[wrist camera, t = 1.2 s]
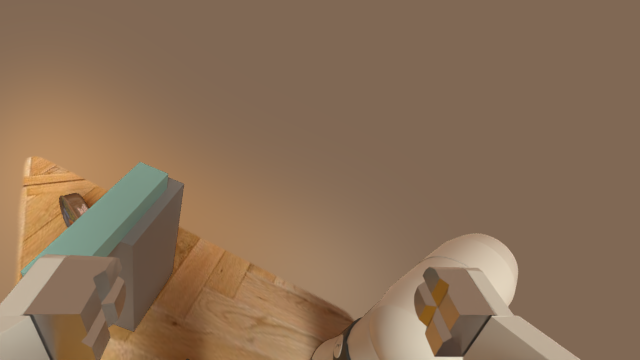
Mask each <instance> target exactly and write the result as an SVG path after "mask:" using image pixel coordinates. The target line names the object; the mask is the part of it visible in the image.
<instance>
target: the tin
mask: <svg viewBox="0 0 640 360" xmlns="http://www.w3.org/2000/svg"><path fill="white" fill-rule="evenodd" d="M59 203H60V208H61V212H62V215H63V218H64V221H65V223H66V225H67V227H68V228H69V227H70V226H71V225H72V224H73V223H74V222H75V221H76V220H77V219H78V218H79V217H81V216H82V215H83V214H84V213H85V212H86V211H87V210H88V209H89V207H88V205H87V204H86V202H85V201H84V199H83V198H82V197H81V196H80V195H79V194H77V193H73V194H69V195H65V196H60V198H59Z"/></svg>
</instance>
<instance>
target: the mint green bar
mask: <svg viewBox="0 0 640 360" xmlns="http://www.w3.org/2000/svg"><path fill="white" fill-rule="evenodd" d="M167 182H168V174H167V173H165V172H163V171H160V170H158V169H156V168H153V167H151V166H148V165H146V164H143V163H141V162H140V163H138V164H137V165H136V166H135V167H134V168H133V169H132V170H131V171H130V172H129V173H128V174H126V175H125V176H124V177H123V178H122V179H121V180H120V181H119V182H118V183H117V184H115V186H113V187H112V188H111V189H110V190H109V191H108V192H107V193H106V194H105V195H103V196H102V197H101V198H100V199H99V200H98V201H97V202H96V203H95V204H94V205H93V206H91V207H90V208H89V209H88V210H87V211H86V212H85V213H84V214H83V215H82V216H81V217H79V218H78V219H77V220H76V221H75V222H74V223H73V224H72V225H71V226H70V227H69V228H67V229H66V230H65V231H64V232H63V233H62V234H61V235H60V236H59V237H58V238H57V239H55V240H54V241H53V242H52V243H51V244H50V245H49V246H48V247H47V248H46V249H44V250H43V251H42V252H41V253H40V254H39V255H38V256H37V257H36V258H35V259H34V260H32V261H31V262H30V263H29V264H28V265H27V266H26V267H25V268H24V269H23V270H22V271H21V274H22V276H24V275H25V274H26V273H27V272H28V270H29V269H30V268H31V267H32V266H33V264H34V263H35V262H36V261H37V260H38V259H39V258H40V257H42V256H44V255H46V254H54V255H80V256H99V257H107V256H108V255H109V254H110V252H111V251H112V250H113V249H114V248H115V247H116V246H117V244H118V243H119V242H120V241H121V240H122V239H123V238H124V237H125V235H126V234H127V233H128V232H129V231H130V230H131V229H132V227H133V226H134V225H135V224H136V223H137V222H138V221H139V220H140V218H141V217H142V216H143V215H144V214H145V213H146V212H147V210H148V209H149V208H150V207H151V206H152V205H153V204H154V203H155V201H156V200H157V199H158V198H159V197H160V196H161V195H162V193H163V192H164V191H165V190H166V189H167Z"/></svg>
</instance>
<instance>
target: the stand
mask: <svg viewBox="0 0 640 360" xmlns="http://www.w3.org/2000/svg"><path fill="white" fill-rule="evenodd" d="M183 188H184V184H183V183H181V182H178V181H176V180H173V179H171V178H169V177H168V182H167V189H166V190H165V191H164V192H163V193H162V195H161V196H160V197H159V198H158V199H157V200H156V201H155V203H154V204H153V205H152V206H151V207H150V208H149V209H148V210H147V212H146V213H145V214H144V215H143V216H142V217H141V218H140V220H139V221H138V222H137V223H136V224H135V225H134V226H133V227H132V229H131V230H130V231H129V232H128V233H127V234H126V235H125V237H124V238H123V239H122V240H121V241H120V242H119V243H118V244H117V246H116V247H115V248H114V249H113V250H112V251H111V252H110V254H109V255H108V256H107V257H116V258H119V259H120V263H121V266H122V269H121V271H120V273H119V275H118V276H119V277H120V278H122V279H123V280H124V281H125V285H126V298H125V303H124V307H123V310H122V312H121V315H120V317H119V319H118V320H117V321H116V322H115V323H114V325H117V326H120V327H122V328H125V329H128V330H131V331H133V332H134V331H135V329H136V328H137V326H138V325H139V323H140V322H141V320H142V319H143V317H144V316H145V314H146V313H147V311H148V309H149V308H150V306H151V305H152V303H153V302H154V300H155V299H156V297H157V296H158V294H159V293H160V291H161V290H162V288H163V286H164V285H165V283H166V282H167V280H168V279H169V277H170V276H171V274H172V271H173V263H174V256H175V248H176V241H177V233H178V226H179V218H180V211H181V204H182V196H183Z"/></svg>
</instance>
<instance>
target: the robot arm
mask: <svg viewBox="0 0 640 360" xmlns="http://www.w3.org/2000/svg"><path fill="white" fill-rule="evenodd" d="M121 269H122V266H121V263H120V259H119V258H116V257H99V256H80V255H54V254H46V255H44V256H42V257H40V258H39V259H38V260H37V261H36V262H35V263H34V264H33V266H32V267H31V268H30V269H29V270H28V272H27V273H26V274H25V275H24V276H23V278H22V279H21V280H20V281H19V282H18V283H17V285H16V286H15V287H14V288H13V289H12V291H11V292H10V293H9V295H7V297H6V298H5V299H4V300H3V301H2V303H1V304H0V360H100V359H101V356H102V354H103V352H104V350H105V348H106V346H107V343H108V341H109V339H110V334H109V330H108V327H110V326H111V325H112V324H114V323H115V322H116V321H117V320H118V319H119V317H120V315H121V312H122V310H123V307H124V303H125V298H126V285H125V281H124V280H123V279H122V278H120V277H119V276H118V275H119V273H120V271H121ZM517 277H518V267H517V263H516V260H515V258H514V256H513V255H512V253H511V252H510V251H509V249H508V248H507V247H506V246H505V245H504V244H503V243H501V242H500V241H498V240H497V239H495V238H493V237H490V236H488V235H484V234H478V233H477V234H476V233H474V234H467V235H464V236H460V237H457V238H454V239H452V240H449V241H447V242H445V243H444V244H443V245H441V246H440V247H439V248H437V249H436V250H435V251H433V252H432V253H431V254H430V255H428V256H427V257H426V258H424V259H423V260H422V261H421V262H419V263H418V264H417V266H416V267H414V268H413V269H412V270H411V271H409V272H408V273H407V274H406V275H404V276H403V277H402V278H401V279H399V280H398V281H397V282H396V283H394V284H393V285H392V286H391V287H390V288H389V289H388V291H387V292H386V293H385V295H384V296H383V298H382V299H381V300H380V301H379V302H378V303H377V304H376V305H375V306H374V307H372V308H371V309H370V310H369V311H368V312H367V313H366V314H365V315H364V316H363V317H362V318H359V319H357V320H356V321H354V322H353V323H352V324H351V325H350V326H349V327H348V328H347V329H345V331H344V332H343V333H342V334H341V335H339V336H337V337H335V338H333V339H330V340H327V341H325V342H324V343H322V344H321V345H320V346H319V347H318V348H317V350H316V351H315V353H314V355H313V357H312V359H311V360H580V359H579V358H577V357H576V356H575V355H573V354H572V353H570V352H569V351H567V350H566V349H565V348H563V347H562V346H560V345H559V344H557V343H556V342H555V341H553V340H552V339H551V338H549V337H548V336H546V335H545V334H544V333H542V332H541V331H539V330H538V329H536V328H535V327H534V326H532V325H531V324H529V323H528V322H526V321H525V320H524V319H522V318H521V317H520V316H514V315H513V314H512V312H511V311H510V310H509V308H508V306H509V304H510V303H511V301H512V299H513V297H514V293H515V288H516V283H517Z"/></svg>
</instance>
